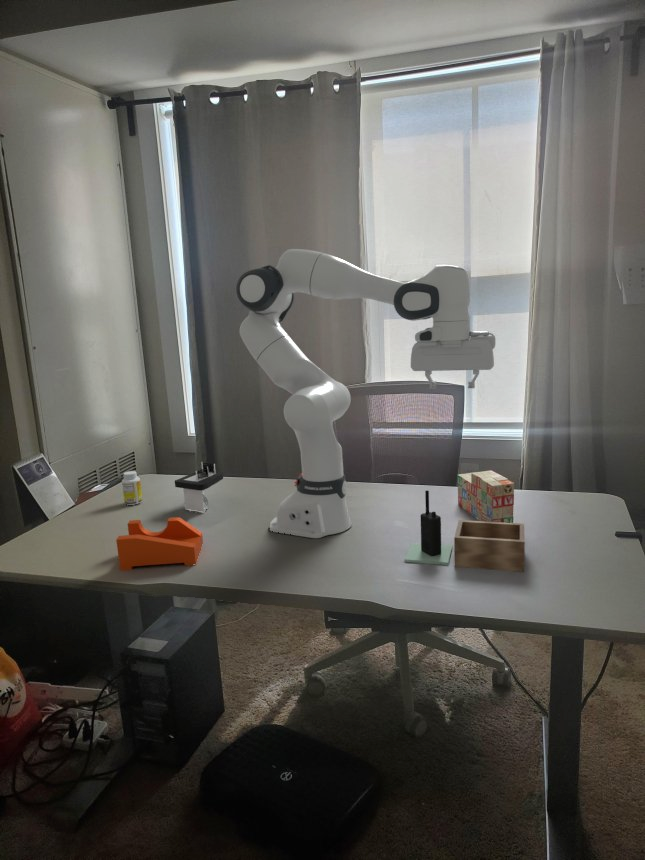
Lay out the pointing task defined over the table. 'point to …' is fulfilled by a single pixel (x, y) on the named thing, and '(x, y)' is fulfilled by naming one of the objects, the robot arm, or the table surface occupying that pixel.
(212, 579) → the table surface
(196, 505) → the black-topped pedestal
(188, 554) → the orange cradle stand
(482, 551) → the access box
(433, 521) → the walkie-talkie
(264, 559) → the table surface
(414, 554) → the place mat
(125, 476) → the supplement bottle
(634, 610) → the table surface
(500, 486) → the stack of blocks
